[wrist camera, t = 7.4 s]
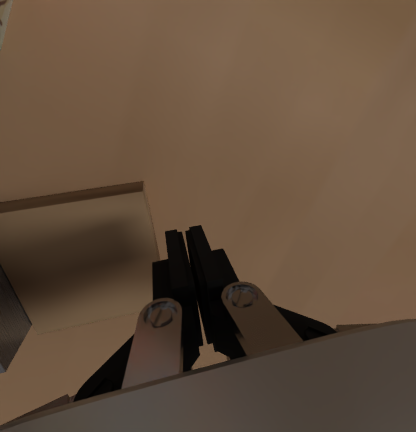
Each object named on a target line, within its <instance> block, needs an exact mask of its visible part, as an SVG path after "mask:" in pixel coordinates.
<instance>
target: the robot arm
mask: <svg viewBox="0 0 416 432" xmlns="http://www.w3.org/2000/svg"><path fill="white" fill-rule="evenodd" d="M185 232H186V239H187V246H188V253H189V259H188V255H187V251H186V247H185V243H184V239H183V234H182V232H177V229H176V230H170V231H165V236H166V244H167V253H168V259H166V260H161V261H156V262H152V288H153V301H152V302H150V303H148V304H147V305H146V306H145V307H144V308H143V309H142V310H141V312H140V314H139V317H138V322H137V326H136V330H135V334H134V335H133V336H132V337H131V338H130V339H129V340H128V341H127V342H126V343H125V344H124V345H123V346H122V347H121V348H120V349H119V350H118V351H116V352H115V353H114V354H113V355H112V356H111V357H110V358H109V359H108V360H107V361H106V362H105V363H104V364H103V365H102V366H101V367H100V368H99V369H98V370H97V371H96V372H95V373H94V374H93V375H92V376H91V377H90V378H89V379H88V380H87V381H86V382H85V383H84V384H83V386H82V387H81V388H80V389H79V390H78V392H77V394H76V395H74V396H72V397H69V395H68V394H67V395H64V396H62V397H60V398H58V399H56V400H54V401H52V402H50V403H47V404H45V405H43V406H41V407H39V408H37V409H35V410H32V411H30V412H28V413H26V414H24V415H22V416H20V417H17V418H15V419H13V420H11V421H9V422H7V423H5V424H3V425H0V432H416V319H405V320H396V321H389V322H384V323H379V324H351V325H337V326H336V329H333V328H331V327H330V326H328V325H326V324H324V323H322V322H319V321H317V320H314V319H311V318H308V317H306V316H303V315H300V314H297V313H295V312H292V311H289V310H286V309H284V308H281V307H278V306H275V305H273V304H272V303H271V302H270V300H269V299H268V298H267V297H266V296H265V294H264V293H263V292H262V291H261V290H260V289H259V288H258V287H257V286H256V285H254V284H252V283H248V282H239V280H238V278H237V276H236V274H235V272H234V270H233V268H232V266H231V264H230V262H229V259H228V257H227V255H226V253H225V251H224V250H223V249H218V250H213V251H211V248H210V246H209V243H208V241H207V239H206V236H205V234H204V231H203V229H202V226H201V225H199V226H193V227H189V230H188V231H185ZM189 260H190V263H189ZM197 302H198V304H197ZM198 306H199V310H200V314H201V319H202V323H203V327H204V331H205V336H206V340H207V344H211V343H213V346H214V350H215V352H217V351H218V352H220V353H222V354H224V355H226V356H227V361H225V362H221V363H218V364H214V365H210V366H206V367H202V368H198V369H195V370H193V369H192V366H193V364H194V363H195V361H196V360H197V358H198V357H199V356H200V353H199V346H203V339H202V332H201V325H200V318H199V311H198Z"/></svg>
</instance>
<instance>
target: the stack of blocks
mask: <svg viewBox="0 0 416 432" xmlns="http://www.w3.org/2000/svg"><path fill="white" fill-rule="evenodd" d="M12 2H13V0H0V50H1V47H2V43H3V39H4V35H5V30H6V26H7V22H8V18H9V14H10V10H11V6H12Z"/></svg>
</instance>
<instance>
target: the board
mask: <svg viewBox="0 0 416 432" xmlns="http://www.w3.org/2000/svg"><path fill="white" fill-rule="evenodd" d="M156 261H161V260H160V256H159V251H158V246H157V241H156V237H155V232H154V227H153V222H152V218H151V213H150V208H149V203H148V199H147V194H146V189H145V184H144V181H141V182H134V183H127V184H120V185H114V186H107V187H100V188H94V189H87V190H80V191H74V192H67V193H60V194H54V195H47V196H40V197H33V198H27V199H20V200H13V201H7V202H0V264H1V266H2V268H3V270H4V272H5V274H6V275H7V277H8V279H9V281H10V283H11V285H12V287H13V289H14V291H15V293H16V294H17V296H18V298H19V300H20V302H21V304H22V306H23V308H24V310H25V312H26V313H27V315H28V317H29V319H30V321H31V323H32V325H33V327H34V329H35V331H36V333H37V334H38V335H39V334H43V333H48V332H52V331H57V330H62V329H66V328H71V327H75V326H80V325H84V324H89V323H93V322H98V321H103V320H107V319H112V318H116V317H121V316H125V315H130V314H135V313H139V312H141V310H142V309H143V308H144V307H145V306H146V305H147V304H148V303H150V302H152V301H153V288H152V262H156Z"/></svg>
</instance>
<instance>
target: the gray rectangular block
mask: <svg viewBox="0 0 416 432" xmlns="http://www.w3.org/2000/svg"><path fill="white" fill-rule="evenodd" d="M31 325H32V323H31V321H30V319H29V317H28V315H27V313H26V312H25V310H24V308H23V306H22V304H21V302H20V300H19V298H18V296H17V294H16V293H15V291H14V289H13V287H12V285H11V283H10V281H9V279H8V277H7V275H6V274H5V272H4V270H3V268H2V266H1V264H0V373H3V372H6V370H7V369H8V367H9V365H10V363H11V361H12V360H13V358H14V356H15V354H16V352H17V351H18V349H19V347H20V345H21V343H22V342H23V340H24V338H25V336H26V334H27V333H28V331H29V329H30V327H31Z"/></svg>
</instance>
